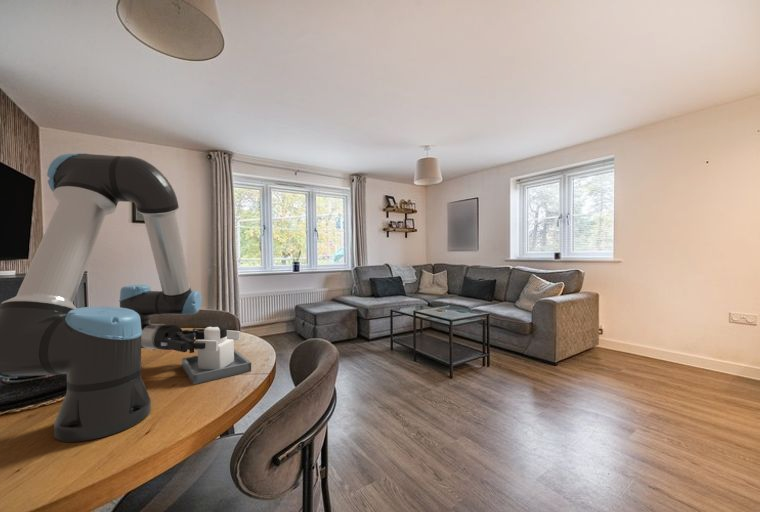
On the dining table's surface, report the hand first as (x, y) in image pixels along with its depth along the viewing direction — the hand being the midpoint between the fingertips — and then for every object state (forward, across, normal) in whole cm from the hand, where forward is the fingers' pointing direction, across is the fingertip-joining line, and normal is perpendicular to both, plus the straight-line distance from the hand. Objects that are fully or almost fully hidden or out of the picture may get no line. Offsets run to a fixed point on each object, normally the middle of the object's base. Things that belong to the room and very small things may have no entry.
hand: (229, 340), depth 94 cm
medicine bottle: (-4, 0, -8) cm, 9 cm away
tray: (-4, 0, -9) cm, 10 cm away
